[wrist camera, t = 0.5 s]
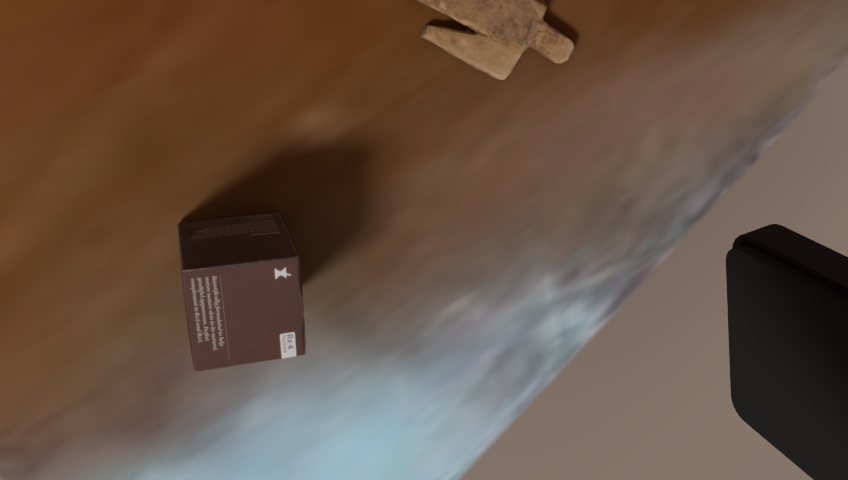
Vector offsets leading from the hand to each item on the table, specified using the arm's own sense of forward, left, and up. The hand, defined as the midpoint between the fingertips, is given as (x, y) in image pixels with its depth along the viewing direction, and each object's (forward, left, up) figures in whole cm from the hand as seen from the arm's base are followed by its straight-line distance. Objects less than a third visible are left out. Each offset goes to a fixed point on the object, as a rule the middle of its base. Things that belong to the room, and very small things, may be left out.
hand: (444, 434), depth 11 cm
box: (+8, -9, -36) cm, 38 cm away
